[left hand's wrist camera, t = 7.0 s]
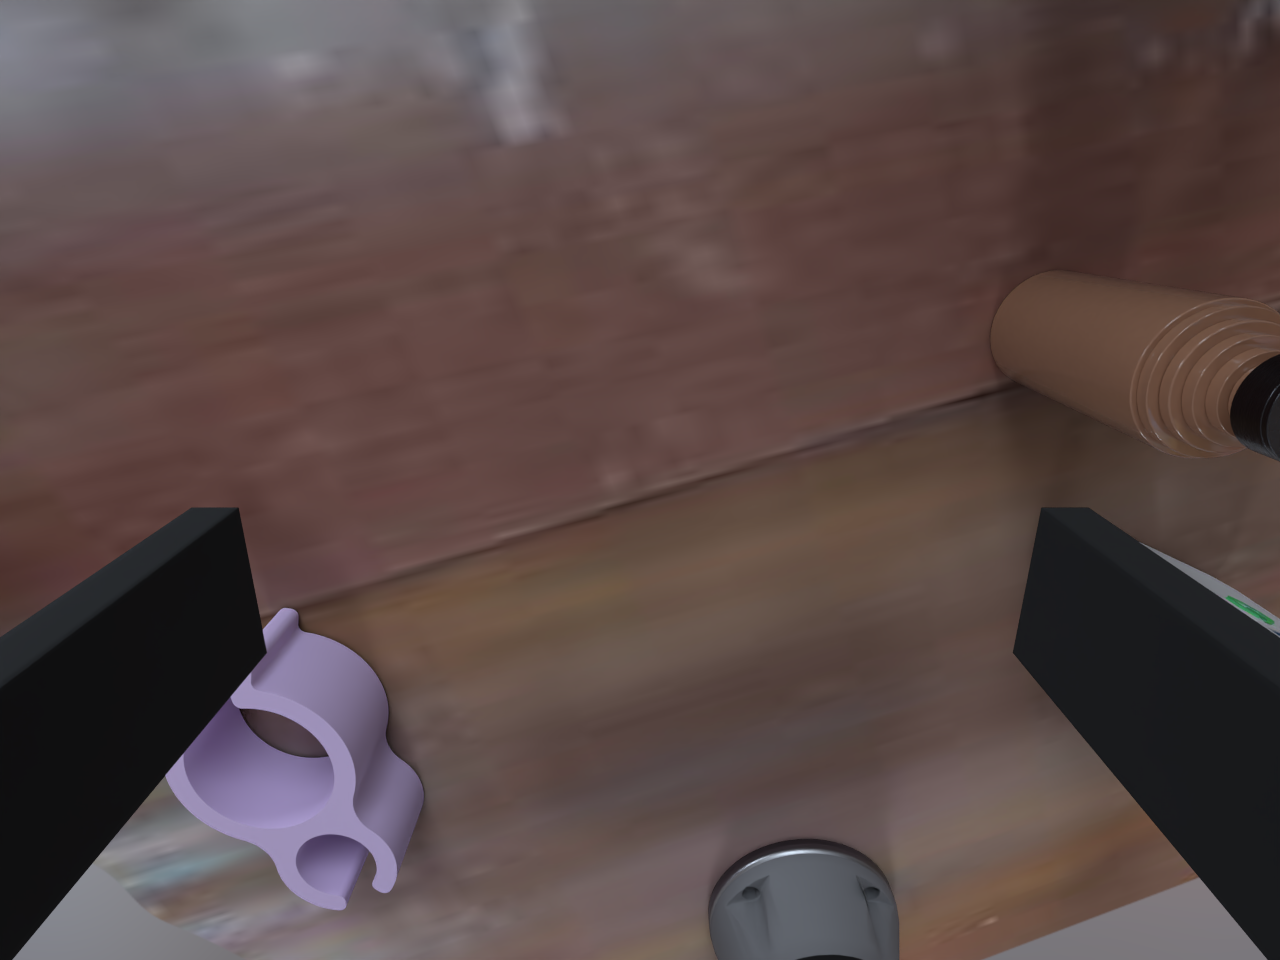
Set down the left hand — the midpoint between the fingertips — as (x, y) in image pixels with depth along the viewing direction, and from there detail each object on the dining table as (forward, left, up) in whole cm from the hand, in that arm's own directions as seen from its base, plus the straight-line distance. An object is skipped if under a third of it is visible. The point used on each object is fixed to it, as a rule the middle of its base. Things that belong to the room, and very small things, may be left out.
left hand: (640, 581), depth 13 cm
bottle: (-1, -25, -36) cm, 44 cm away
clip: (-31, +24, -36) cm, 53 cm away
